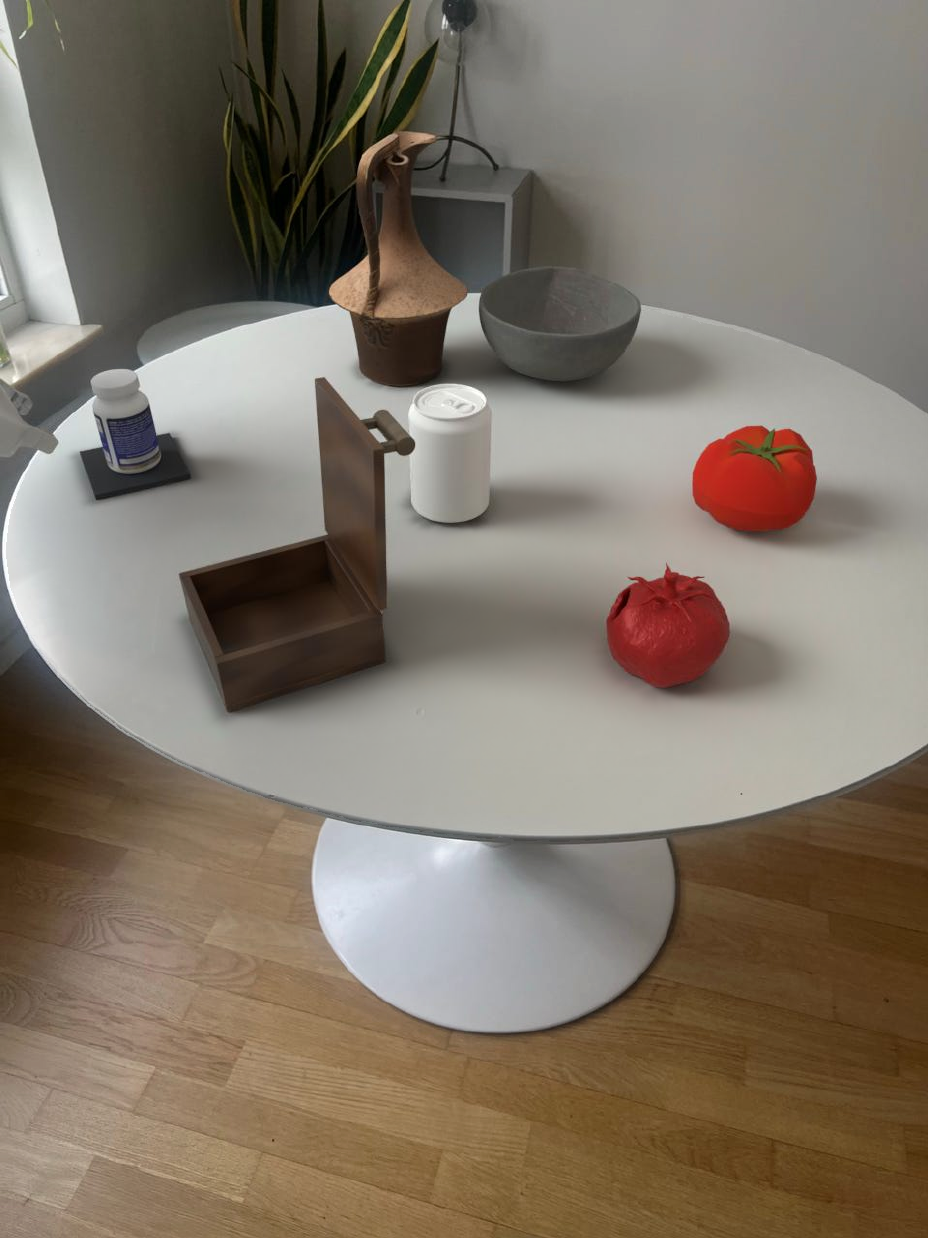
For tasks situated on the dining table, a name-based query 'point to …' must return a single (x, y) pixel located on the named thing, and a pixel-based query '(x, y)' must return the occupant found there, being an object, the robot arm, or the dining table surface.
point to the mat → (116, 483)
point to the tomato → (756, 479)
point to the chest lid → (357, 484)
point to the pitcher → (396, 274)
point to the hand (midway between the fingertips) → (40, 425)
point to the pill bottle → (124, 422)
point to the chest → (282, 621)
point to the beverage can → (450, 452)
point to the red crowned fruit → (667, 629)
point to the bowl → (558, 322)
